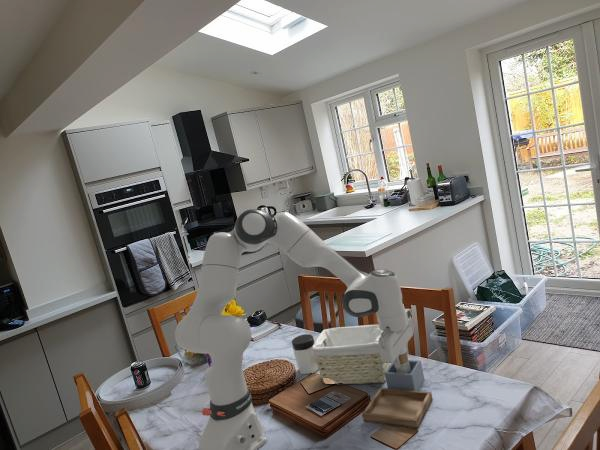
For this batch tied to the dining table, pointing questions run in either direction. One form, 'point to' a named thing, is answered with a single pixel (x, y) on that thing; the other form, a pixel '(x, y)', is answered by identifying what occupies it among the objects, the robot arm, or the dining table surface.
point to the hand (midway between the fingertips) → (401, 362)
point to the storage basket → (350, 355)
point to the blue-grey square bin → (405, 377)
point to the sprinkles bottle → (404, 362)
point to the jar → (304, 353)
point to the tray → (398, 407)
